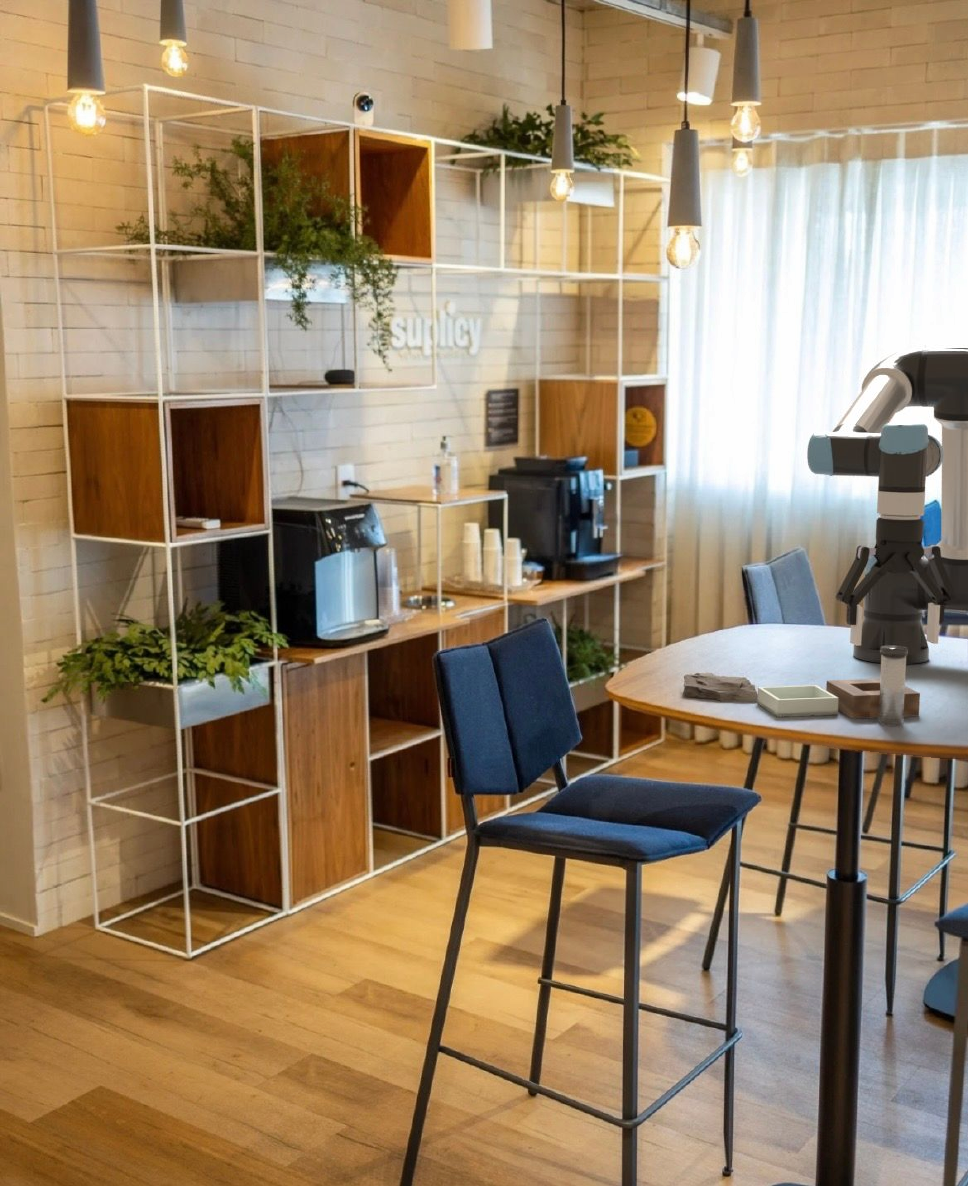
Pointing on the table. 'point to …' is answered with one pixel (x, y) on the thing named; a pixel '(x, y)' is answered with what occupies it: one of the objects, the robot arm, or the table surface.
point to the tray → (797, 700)
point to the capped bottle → (892, 685)
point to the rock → (719, 688)
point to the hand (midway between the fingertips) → (894, 643)
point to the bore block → (867, 698)
